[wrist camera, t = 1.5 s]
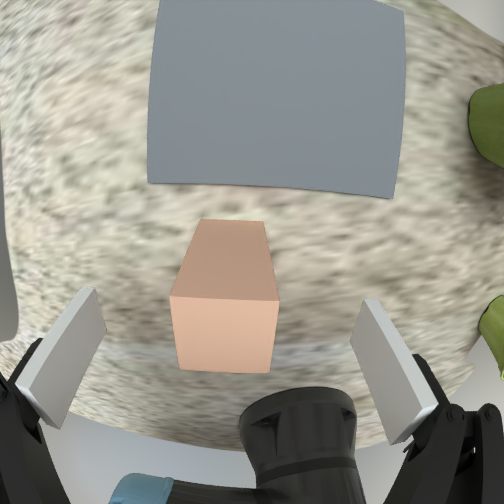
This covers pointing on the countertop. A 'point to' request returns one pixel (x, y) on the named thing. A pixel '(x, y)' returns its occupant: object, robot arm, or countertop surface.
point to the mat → (277, 94)
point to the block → (225, 299)
